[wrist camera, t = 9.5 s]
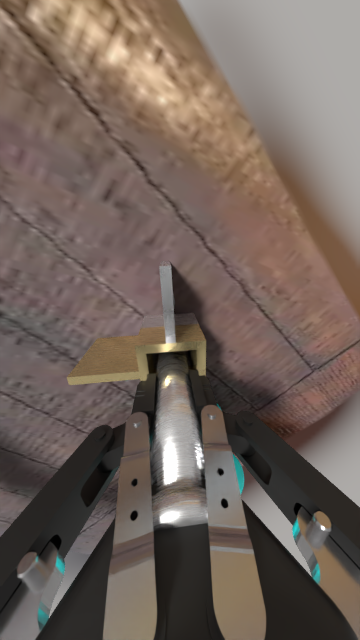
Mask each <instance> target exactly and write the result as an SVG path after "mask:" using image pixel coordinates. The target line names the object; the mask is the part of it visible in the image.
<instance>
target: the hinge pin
mask: <svg viewBox="0 0 360 640" xmlns="http://www.w3.org/2000/svg"><path fill="white" fill-rule="evenodd" d="M151 462H152V485H157V492H156V495H154V496H152V499H153V518H154V529H155V530H161V529H168V528H176V527H183V526H190V525H197V524H204V523H207V503H206V489H204V488H203V484H202V479H205V472H204V461H203V442H202V435H201V430H200V425H199V420H198V416H197V413H196V409H195V404H194V398H193V393H192V388H191V383H190V377H189V369H188V364H187V359H186V354H185V351H173V352H161V353H158V363H157V385H156V400H155V415H154V420H153V432H152V446H151Z"/></svg>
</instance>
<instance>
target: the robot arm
mask: <svg viewBox="0 0 360 640" xmlns="http://www.w3.org/2000/svg"><path fill="white" fill-rule="evenodd" d="M189 377H190V383H191V388H192V393H193V398H194V404H195V409H196V413H197V416H198V420H199V425H200V430H201V435H202V442H203V461H204V472H205V479H202V484H203V488H204V489H206V503H207V523H204V524H197V525H190V526H183V527H176V528H168V529H161V530H155V529H154V518H153V499H152V496H154V495H156V492H157V485H152V462H151V446H152V432H153V420H154V415H155V400H156V385H157V373H150V374H147V379H146V381H141V382H140V383H139V384H138V386H137V390H136V395H135V400H134V405H133V409H132V414H131V415H130V416H129V418H128V419H127V421H126V422H125V423H124V424H122V425H120V426H118V427H116V428H113V429H112V428H111V427H110V426H108V425H102V426H99V427H97V428H96V429H94V430H93V431H92V432H91V433H90V434H89V436H88V437H87V438H86V439H85V440H84V441H83V442H82V444H81V445H80V446H79V447H78V448H77V449H76V451H75V452H74V453H73V454H72V455H71V456H70V457H69V459H68V460H67V461H66V462H65V463H64V464H63V466H62V467H61V468H60V469H59V470H58V471H57V472H56V474H55V475H54V476H53V477H52V478H51V479H50V481H49V482H48V483H47V484H46V485H45V486H44V487H43V489H42V490H41V491H40V492H39V493H38V494H37V496H36V497H35V498H34V499H33V500H32V501H31V502H30V504H29V505H28V506H27V507H26V508H25V509H24V511H23V512H22V513H21V514H20V515H19V516H18V517H17V519H16V520H15V521H14V522H13V523H12V524H11V526H10V527H9V528H8V529H7V530H6V531H5V532H4V534H3V535H2V536H1V537H0V640H360V507H359V506H357V505H356V504H355V503H354V502H353V501H352V500H351V499H349V498H348V497H347V496H346V495H345V494H344V493H343V492H341V491H340V490H339V489H338V488H337V487H336V486H335V485H334V484H332V483H331V482H330V481H329V480H328V479H327V478H326V477H324V476H323V475H322V474H321V473H320V472H319V471H318V470H317V469H315V468H314V467H313V466H312V465H311V464H310V463H309V462H307V461H306V460H305V459H304V458H303V457H302V456H301V455H299V454H298V453H297V452H296V451H295V450H294V449H293V448H292V447H290V446H289V445H288V444H287V443H286V442H285V441H284V440H282V439H281V438H280V437H279V436H278V435H277V434H276V433H275V432H273V431H272V430H271V429H270V428H269V427H268V426H267V425H265V424H264V423H263V422H262V421H261V420H260V419H259V418H258V417H256V416H255V415H254V414H252V413H250V412H247V411H242V412H239V413H238V414H237V416H235V415H230V414H226V413H224V412H223V411H221V409H220V408H219V407H218V405H217V403H216V400H215V397H214V394H213V391H212V388H211V385H210V382H209V379H208V378H207V377H206V376H205V375H202V376H199V372H198V369H197V370H189ZM232 452H234V453H235V454H236V456H237V457H238V458H239V460H240V461H241V462H242V463H243V465H244V466H245V467H246V468H247V469H248V471H249V472H250V473H251V474H252V476H253V477H254V478H255V479H256V481H257V482H258V483H259V484H260V485H261V487H262V488H263V489H264V490H265V492H266V493H267V494H268V495H269V497H270V498H271V499H272V500H273V502H274V503H275V504H276V505H277V506H278V508H279V509H280V510H281V511H282V512H283V514H284V515H285V516H286V518H287V519H288V520H289V521H290V522H291V524H292V525H293V537H294V540H295V542H296V545H297V547H298V548H299V550H300V552H301V553H302V555H303V557H304V558H305V560H306V562H307V564H308V566H309V568H310V572H311V575H312V577H311V576H310V575H309V574H308V572H307V571H306V570H305V569H304V568H303V567H302V566H301V565H300V563H299V562H298V561H297V560H296V559H295V558H294V557H293V556H292V555H291V553H290V552H289V551H288V550H287V549H286V548H285V547H284V546H283V545H282V544H281V542H280V541H279V540H278V539H277V538H276V537H275V536H274V535H273V533H272V532H271V531H270V530H269V529H268V528H267V527H266V526H265V525H264V523H263V522H262V521H261V520H260V519H259V518H258V517H257V516H256V515H255V513H253V511H252V510H251V509H250V508H249V507H248V506H247V505H246V503H245V502H244V501H243V500H242V499H241V495H240V489H239V484H238V479H237V474H236V469H235V464H234V459H233V454H232ZM119 466H120V472H119V484H118V496H117V507H116V517H115V519H114V520H113V522H112V523H111V525H110V526H109V528H108V529H107V531H106V532H105V534H104V535H103V537H102V538H101V540H100V541H99V543H98V544H97V546H96V548H95V549H94V551H93V552H92V554H91V555H90V557H89V558H88V560H87V561H86V563H85V564H84V566H83V568H82V569H81V571H80V572H79V573H78V575H77V577H76V578H75V580H74V581H73V583H72V584H71V586H70V587H69V589H68V590H67V592H66V593H65V595H64V596H63V598H62V600H61V601H60V602H59V604H58V606H57V607H56V609H55V610H54V612H53V613H52V615H51V616H50V618H49V614H50V609H51V606H52V603H53V600H54V598H55V595H56V593H57V591H58V589H59V587H60V584H61V582H62V579H63V576H64V571H65V562H64V558H65V556H66V555H67V553H68V551H69V550H70V548H71V546H72V545H73V543H74V541H75V540H76V538H77V536H78V535H79V533H80V531H81V530H82V528H83V526H84V525H85V523H86V521H87V520H88V518H89V516H90V515H91V513H92V511H93V510H94V508H95V506H96V505H97V503H98V501H99V500H100V498H101V496H102V495H103V493H104V492H105V490H106V488H107V487H108V485H109V483H110V482H111V480H112V478H113V477H114V475H115V473H116V472H117V470H118V468H119Z"/></svg>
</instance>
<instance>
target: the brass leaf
mask: <svg viewBox="0 0 360 640" xmlns="http://www.w3.org/2000/svg"><path fill="white" fill-rule="evenodd" d="M175 338H176V343H167V344H166V338H165V326H163V327H149V328H141V329H140V332H139V335H138V336H124V337H111V338H98V339H97V340H96V341H95V342H94V344H93V345H92V346H91V347H90V349H89V350H88V351H87V353H86V354H85V355H84V356H83V358H82V359H81V360H80V361H79V363H78V364H77V365H76V366H75V368H74V369H73V370H72V372H71V373H70V374H69V375H68V377H67V380H68V382H69V385H76V384H87V383H99V382H110V381H121V380H133V379H140V381H146V379H147V374H150V373H157V369H154V365H153V357H152V353H161V352H173V351H186V350H191V360H192V366H188V369H189V370H197V369H198V372H199V376H202V375H205V376H206V339H205V337H204V335H203V333H202V330H201V328H200V326H199V324H190V325H177V326H175Z"/></svg>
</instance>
